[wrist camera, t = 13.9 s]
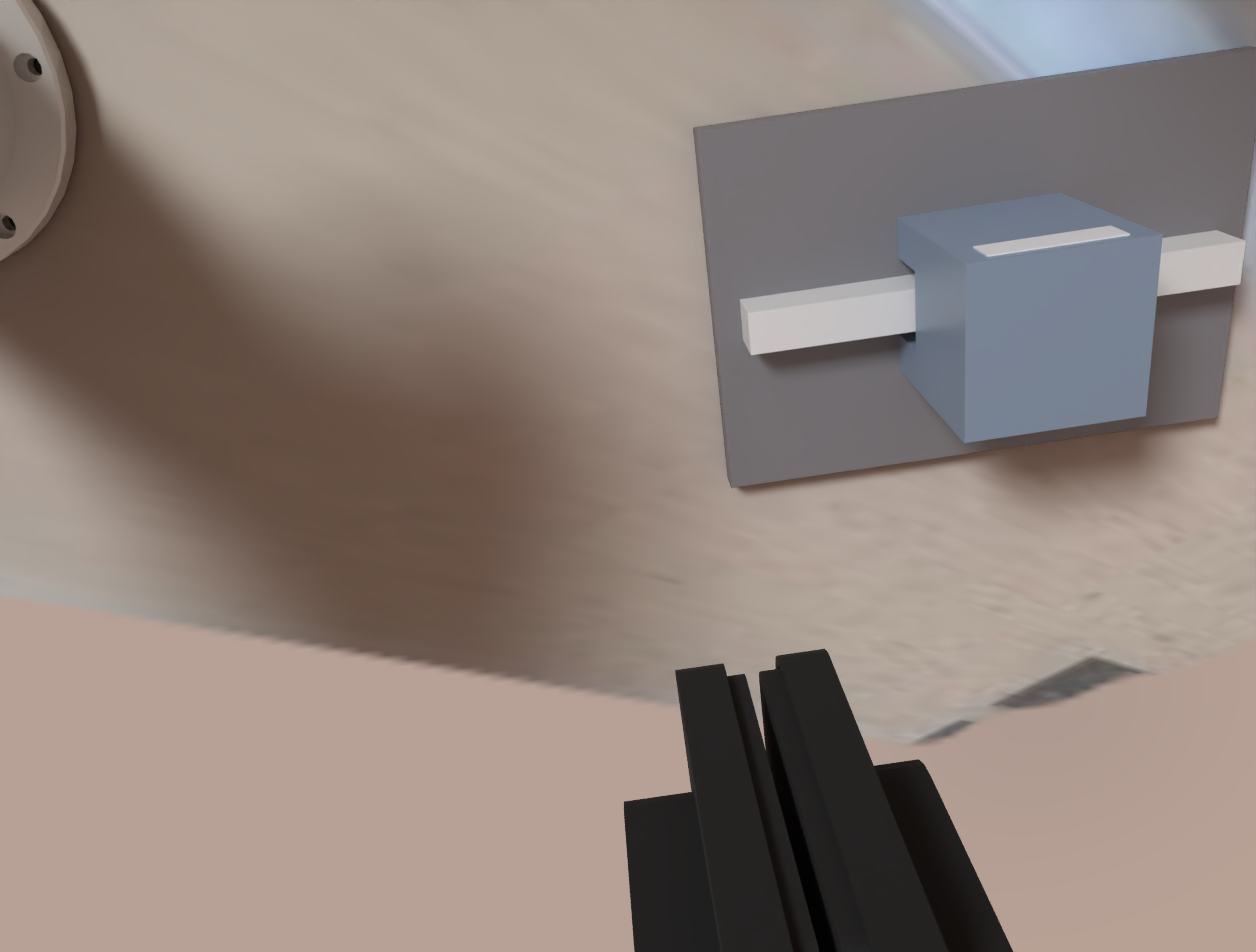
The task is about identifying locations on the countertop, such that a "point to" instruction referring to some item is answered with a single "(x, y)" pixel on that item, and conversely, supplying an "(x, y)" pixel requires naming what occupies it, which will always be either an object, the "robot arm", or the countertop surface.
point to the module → (1030, 315)
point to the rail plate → (941, 180)
